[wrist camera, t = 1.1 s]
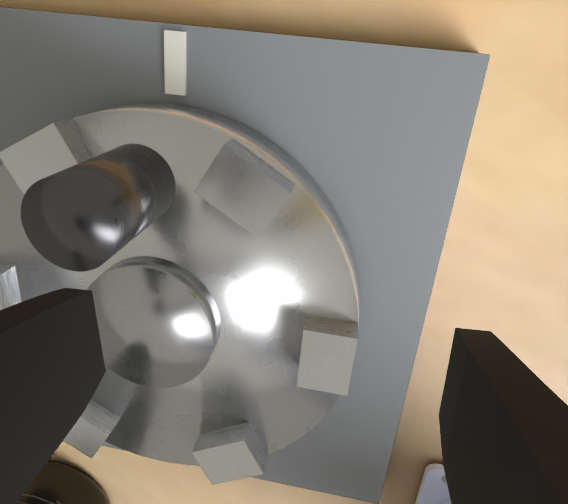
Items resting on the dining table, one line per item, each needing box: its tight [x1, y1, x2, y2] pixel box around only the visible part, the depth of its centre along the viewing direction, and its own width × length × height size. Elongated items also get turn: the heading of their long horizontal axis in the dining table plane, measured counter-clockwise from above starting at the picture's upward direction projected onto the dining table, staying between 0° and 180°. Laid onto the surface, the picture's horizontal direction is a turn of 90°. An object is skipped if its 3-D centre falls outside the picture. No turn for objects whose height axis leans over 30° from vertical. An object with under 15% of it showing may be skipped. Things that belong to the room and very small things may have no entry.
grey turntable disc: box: [0, 102, 360, 484], centre depth 17 cm, size 15×15×7 cm
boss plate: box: [0, 7, 490, 504], centre depth 21 cm, size 20×20×2 cm
